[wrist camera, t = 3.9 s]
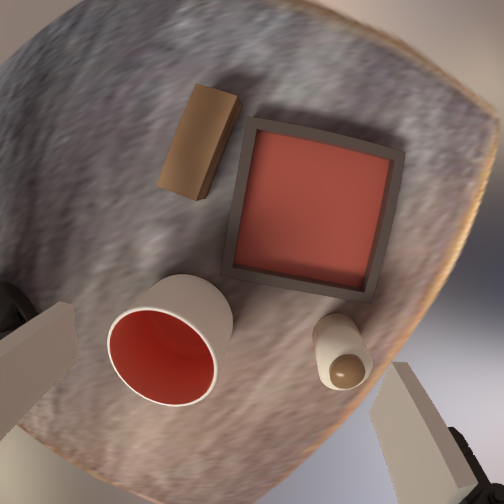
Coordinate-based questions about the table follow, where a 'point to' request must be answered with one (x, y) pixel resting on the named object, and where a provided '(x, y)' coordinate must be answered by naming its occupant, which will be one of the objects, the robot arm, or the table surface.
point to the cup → (172, 340)
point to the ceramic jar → (340, 352)
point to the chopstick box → (199, 142)
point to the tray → (311, 210)
